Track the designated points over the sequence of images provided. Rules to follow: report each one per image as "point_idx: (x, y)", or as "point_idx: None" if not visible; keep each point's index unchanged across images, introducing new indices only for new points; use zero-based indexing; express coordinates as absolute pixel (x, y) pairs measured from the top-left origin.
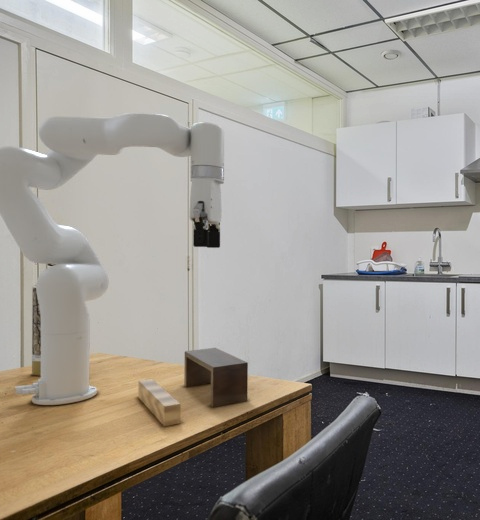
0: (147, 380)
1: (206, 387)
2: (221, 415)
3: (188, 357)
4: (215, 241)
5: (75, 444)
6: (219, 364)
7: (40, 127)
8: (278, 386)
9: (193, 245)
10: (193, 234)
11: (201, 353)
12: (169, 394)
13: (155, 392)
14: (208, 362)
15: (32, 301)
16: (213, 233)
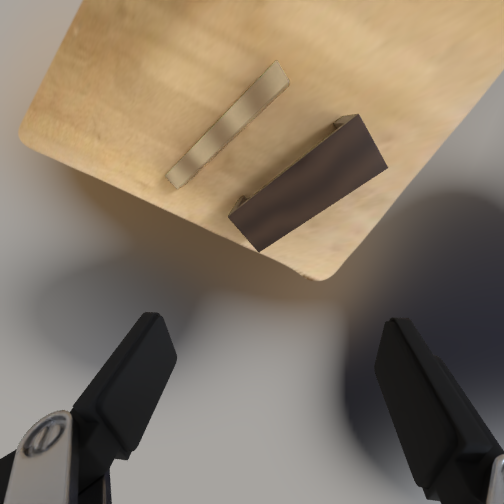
0: (277, 78)
1: None
2: (213, 217)
3: (331, 133)
4: (389, 391)
5: (111, 99)
6: (244, 219)
7: None
8: (322, 253)
9: (143, 313)
10: (102, 368)
11: (330, 160)
12: (207, 159)
13: (213, 133)
14: (256, 200)
15: None
16: (425, 454)
